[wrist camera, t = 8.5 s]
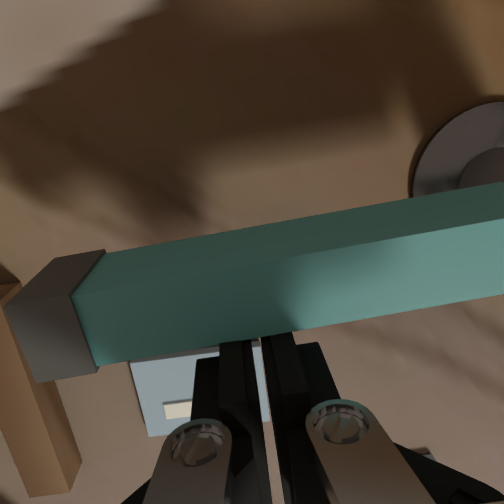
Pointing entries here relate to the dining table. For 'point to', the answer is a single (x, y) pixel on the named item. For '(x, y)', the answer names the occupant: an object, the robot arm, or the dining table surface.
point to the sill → (33, 417)
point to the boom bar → (265, 278)
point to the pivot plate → (458, 148)
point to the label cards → (181, 387)
